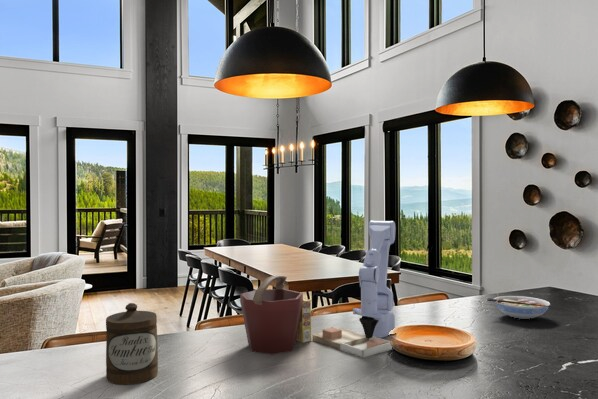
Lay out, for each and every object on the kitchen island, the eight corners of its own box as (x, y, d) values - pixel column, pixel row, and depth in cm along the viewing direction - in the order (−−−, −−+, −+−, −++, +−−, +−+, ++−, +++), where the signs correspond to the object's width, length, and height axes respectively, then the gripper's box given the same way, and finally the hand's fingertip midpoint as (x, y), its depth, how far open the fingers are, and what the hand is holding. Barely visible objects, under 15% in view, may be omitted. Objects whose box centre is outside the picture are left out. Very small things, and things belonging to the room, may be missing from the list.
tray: (370, 341, 188) (370, 335, 188) (393, 349, 179) (393, 342, 179) (340, 349, 178) (340, 342, 178) (362, 357, 170) (362, 350, 170)
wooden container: (107, 388, 144) (106, 311, 144) (105, 371, 158) (104, 300, 157) (161, 380, 150) (160, 306, 150) (154, 364, 164) (153, 296, 163)
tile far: (332, 333, 191) (332, 327, 191) (341, 336, 187) (341, 330, 187) (322, 336, 188) (322, 329, 188) (331, 339, 184) (331, 332, 184)
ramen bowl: (556, 316, 225) (556, 297, 225) (549, 328, 206) (549, 307, 206) (496, 309, 239) (496, 291, 238) (485, 319, 219) (485, 300, 219)
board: (342, 332, 200) (342, 327, 200) (369, 341, 188) (369, 336, 188) (312, 339, 190) (312, 334, 190) (339, 349, 179) (339, 344, 179)
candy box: (311, 341, 189) (311, 300, 188) (302, 343, 186) (302, 301, 186) (298, 335, 196) (298, 295, 196) (289, 337, 194) (289, 297, 194)
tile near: (387, 341, 178) (387, 348, 178) (376, 338, 182) (376, 345, 182) (377, 344, 175) (377, 351, 175) (366, 341, 179) (366, 348, 179)
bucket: (270, 333, 199) (270, 269, 198) (318, 343, 186) (318, 275, 186) (227, 349, 179) (226, 278, 178) (277, 361, 166) (276, 285, 166)
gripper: (346, 298, 186) (346, 335, 186) (376, 305, 174) (376, 344, 174) (360, 295, 190) (360, 331, 190) (390, 302, 178) (390, 340, 179)
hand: (369, 337), depth 183 cm, fingers closed
